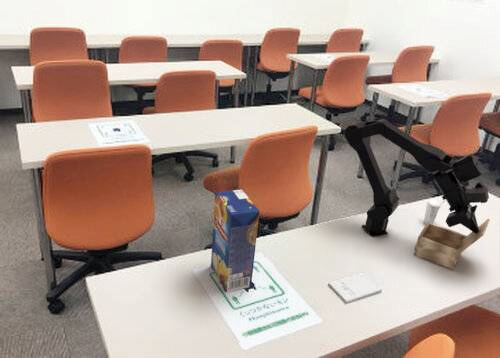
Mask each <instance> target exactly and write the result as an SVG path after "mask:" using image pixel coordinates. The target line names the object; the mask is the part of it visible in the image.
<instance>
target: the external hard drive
mask: <svg viewBox="0 0 500 358" xmlns="http://www.w3.org/2000/svg"><path fill="white" fill-rule="evenodd" d="M327 286H328V287H329V288H330V289H331V290H332V291H333V292H334V293H336V294H337V296H338V297H339V298H340V299H341V301H342V302H344V303H345V304H350V303H353V302H357V301H359V300H362V299H366V298H368V297H371V296H374V295H376V294H380V293H382V291H383V290H382V289H383V288H381V287H380V286H379V285H378V284H377V283H375V281H373V279H371V278H370V277H369V276H368V275H367V274H366V273H364V272H361V273H360V272H359V273H357V274H353V275H350V276H346V277H345V278H340V279H338V280H334V281H330V282H328V284H327Z"/></svg>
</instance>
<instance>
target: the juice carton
mask: <svg viewBox="0 0 500 358" xmlns="http://www.w3.org/2000/svg"><path fill="white" fill-rule="evenodd" d="M214 194H215V195H214V206H213V207H214V208H213V209H214V211H213V224H212V238H211V239H212V241H211V258H210V259H211V260H210V267H211V269H212V270H213V272H214V274H215V276H216V278H217V280H218V282H219V284H220V285H221V288H222V289H223V290H224V292H225V293H228V292H233V291H238V290H241V289H242V290H243V289H248V288H251V287H252V281H253V280H252V279H253V274H254V273H253V271H254V264H255V262H254V261H255V255H256V254H255V253H256V248H257V247H256V246H257V245H256V244H257V236H258V227H259V219H260V210H259V208H258V207H257V206H256V205H255V204H254V202H253V201H252V199H250V197H249V196H248V195H247V194H246V193H245V191H244V190H243V189H242V188H240V189H238V188H237V189H231V190H230V189H229V190H222V191H215V192H214Z"/></svg>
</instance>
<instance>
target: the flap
mask: <svg viewBox="0 0 500 358" xmlns="http://www.w3.org/2000/svg"><path fill="white" fill-rule="evenodd" d="M489 223H490V218H488V219H486V220H485V221H484V222H482V223H481V224H480V225H478V228H479V232H478V233H476V234H475V233H474V232H472V231H471V232H469V234H467V235H466V236H467V237H466V239H465V241H464V243H463V246H462V248H461V250H460V252H461V253H463V252H464V251H465V250H467V248H468V249H469V247H470V246H472V245H473V244H474V243H476V242H477V241H478V240H479V239H481V238H482V237H483V236H484V235H485V233H486V231H487V228H488V225H489Z"/></svg>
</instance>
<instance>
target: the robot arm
mask: <svg viewBox="0 0 500 358" xmlns="http://www.w3.org/2000/svg"><path fill="white" fill-rule="evenodd" d="M343 134H344V138H345V140H346V141H347V143H348V145H349V146H350V147H351V149H352V150H354V152H356V153H357V156H358V158H359V161H360V163H361V165H362V167H363V170H364V173H365V176H366V178H367V180H368V183H369V185H370V187H371V190H372V197H373V199H372V201H373V205H372V206H371V207H370V208H369V209H368V210H367V211H366V216H367V217H366V219H365V224H362V225H361V227H362V228H363V230H364V231H365V232H366V233H368V235H369V236H371V237H379V236H386V235H388V233H389V232H388V231H387V228H388V224H389V221H390V220H389V217H390V216H392V215H393V213H394V212H395V211H396V209H397V208H398V207H399V200H400V197H399V196H398V194H397V190H396V188H392V189H390V188H389V187H388V185H387V184H386V180H385V179H384V176H383V174H382V171H381V168H380V167H379V163H378V162H377V159H376V156H375V153H374V151H373V149H372V146H371V137H373V136H377V135H379V136H381V137H383V138H385V139H386V140H387V141H389V142H391V143H392V144H394V145H395V146H397V147H399V148H400V149H401V150H403V151H405V152H406V153H408V154H409V155H411V157H413V158H414V160H415V161H416V163H417V164H418V165H419V166H421V167H422V169H424V170H425V171H427V172H428V174H427V179H426V183H430V182H432V181H434V182H435V184H436V185H437V187H438V188H439V190H440V192H441V193H442V196H441V198H442V200H443V201H444V200H446V202H447V204H448V206H449V208H448V210H449V211H450V212H449V214H448V215H447V217H446V219H445V223H446V225H447V226H448V227H449V228H452V227H454V226H457V225H462V226H463V227H465V228H466V229H468V230H469V231H471V232H474V233H475V234H476V233H478V232H479V228H478V227H479V225H478V222H477V221H478V220H477V218H476V210H477V208H478V204H476V203H481V204H485V203H488V200H489V198H490V196H489V188H488V186H487V185H485V184H484V183H483V182H482V181H480V182H476V183H475V186H474V187H473V186H472V187H470V188H467V186H466V185H464V184H461V183H460V182H463V183H466V182H468V181H472V180H474V179H476V178H478V177H481V176H484V175H485V170H484V166H483V165H482V162H481V161H480V160H479V159H478V158H477V157H475V156H474V155H473V154H472V153H470V154H467V155H466V156H464V157H462V158H459V159H458V158H455V157H453V156H451V155H449V154H446V153H445V151H444V150H443V149H440V148H439V147H436V146H434V145H433V144H432V145H431V144H427V143H424V142H421V141H420V140H418V139H416V138H415V137H413V136H411V135H410V134H408V133H407V132H405V131H403V130H402V129H400V128H399V127H397V126H395V125H393V124H392V123H390V121H388V119H385V118H384V119H383V118H382V119H378V120H370V121H361V120H358V121H355V122H353V123H351V124H350V125H348V126H347V127H346V128H345V130H344V132H343ZM472 203H473V204H476V205H472Z"/></svg>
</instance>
